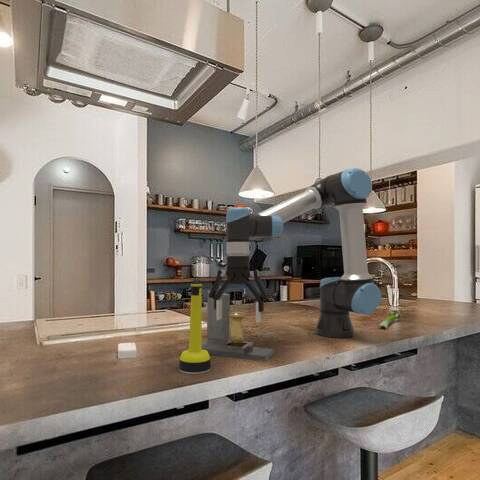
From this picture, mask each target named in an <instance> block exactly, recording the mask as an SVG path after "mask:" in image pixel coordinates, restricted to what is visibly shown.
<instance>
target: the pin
mask: <svg viewBox="0 0 480 480" xmlns="http://www.w3.org/2000/svg"><path fill="white" fill-rule="evenodd" d="M229 316H230V340H231V346H237V347H243V341H244V318H245V317H246V312H244V311H231V312H230V313H229Z"/></svg>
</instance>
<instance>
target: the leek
mask: <svg viewBox="0 0 480 480" xmlns="http://www.w3.org/2000/svg"><path fill="white" fill-rule="evenodd" d="M400 311H401V310H399V309H398V310H396V309H392V310H391V311H390V312H388V317H387V318H386V319H384V320H383V321H382V322H380V324H379V325H378V326H377V328H381V327H382V328H385V329H387V330H388V326H389V324H390V323H391V322H392V321H395V320H397V321H399V319H400V320H401V319H402V317H401V315H402V314H399V313H400Z"/></svg>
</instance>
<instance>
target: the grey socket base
mask: <svg viewBox="0 0 480 480" xmlns="http://www.w3.org/2000/svg"><path fill="white" fill-rule="evenodd" d="M202 350H206V351H208V353H209V356H211V355H212V356H217V357H219V356H220V357H225V358H226V357H227V358H228V357H229V358H234V357H235V358H236V359H242V358H243V360H250V359H251V361H258V360H261V361H262V362H267V360H268V359H270V358H271V357H272V356H273V355H274V349H273V348H266V347H259V346H258V347H257V346H254V342H253V341H244V340H243V347H237V346H231V339H229V340H226V339H217V338H211V339H210V338H208V339H207V340H205V341H203V342H202ZM269 357H270V358H269ZM235 358H234V359H235ZM261 361H260V362H261Z"/></svg>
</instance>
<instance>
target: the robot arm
mask: <svg viewBox="0 0 480 480" xmlns="http://www.w3.org/2000/svg"><path fill="white" fill-rule="evenodd" d="M372 191H373V183H372V180H371V177H370V175H369V174H368V173H366V171H365V170H363V169H361V168H357V167H354V168H349V169H345V170H343V171H340V172H337V173H334V174H330V175H327V176H326V177H324V178H322V179H320V180H319V181H317V182H316V183H314V184H312V185H310V186H308V187H307V188H306V189H305V191H303V192H301V193H299V194H296V195H295V196H293V197H290V198H287V199H286V200H284V201H282V202H279V203H277V204H276V205H275V204H274V205H273V206H271V207H269V208H267V209H265V210H263V211H260V212H258V213H256V214H251V213H250V209H249V208H247V207H231V208H228V209H227V211H226V221H225V223H226V224H225V225H226V254H227V257H226V270H224V269H218V270H217V273H216V278H215V281H214V282H213V283H212V284H213V285H212V286H213V287H212V286H211V290H209V291H210V293H209V298H213V299H214V309H215V310H217V320H221V319H222V299H220V297H221V296H222V295H223V293H225V292H226V291H227V290H228V288H229V287H230V286H231V285H237V284H238V285H245V286H246V287H247V289H248V290H249V291H250V292H251V294H252V295H253V296H254V298H255V299H256V300H257V301H255V324H259V323H260V322H262V316H261V315H262V313H263V312H264V305H265V304H264V302H265V301H267V300H269V299H270V295H269V294H268V291H267V289H266V287H265V284H264V283H263V281H262V278H261V274H260V270H259V269H256V270H252V271H251V268H250V267H251V266H250V264H251V263H250V256H249V255H250V240H252V239H264V238H265V239H266V238H270V239H273V238H279V237H280V236H282V234H283V231H284V224H285V223H287V222H288V221H290V220H293V219H294V218H296V217H299V216H301V215H303V214H304V213H306V212H308V211H311V210H313V209H314V210H318V209H320V208H323V207H325V206H329V205H334V208H335V209H337V211H338V212H339V213H338V215H339V222H340V223H339V224H340V237H341V249H342V262H343V263H342V264H343V271H344V272H343V275H342V276H335V277H334V276H333V277H325V278H322V279H321V280H320V284H319V300H320V302H319V310H320V311H319V317H318V319H317V323H316V326H315V333H316V334H317V335H319V336H322V337H327V338H336V339H337V338H339V339H340V338H341V339H342V338H351V337H354V335H355V331H354V330H355V329H354V326H353V323H352V320H351V317H350V312H351V313H354V314H356V315H357V314H358V315H371V314H372V313H374V312H375V311H376V310H377V308H378V307H379V306H380V304H381V300H382V292H381V289H380V288H379V287H378V285H376V284H375V283H374V278H373V276H372V275H371V274H370V273H369V269H368V256H367V248H366V247H367V244H366V232H365V231H366V229H365V220H364V219H365V218H364V210H363V209H364V208H365V207H366V206H367V198H368V197H370V195H371V193H372ZM225 276H226V277H227V279H226V280H225V281H224V283H223V285H222V286H221V284H222V281H223V279H224V277H225ZM250 277H252V278H253V280H254V282H255V284H256V285H257V288H258V289H257V288H256V286H255V285H254V284H253V283H252V281H251V279H250ZM219 286H221V288H220V290H219V291H218V292H217V290H218V288H219ZM216 292H217V294H216ZM215 294H216V295H215Z"/></svg>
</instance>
